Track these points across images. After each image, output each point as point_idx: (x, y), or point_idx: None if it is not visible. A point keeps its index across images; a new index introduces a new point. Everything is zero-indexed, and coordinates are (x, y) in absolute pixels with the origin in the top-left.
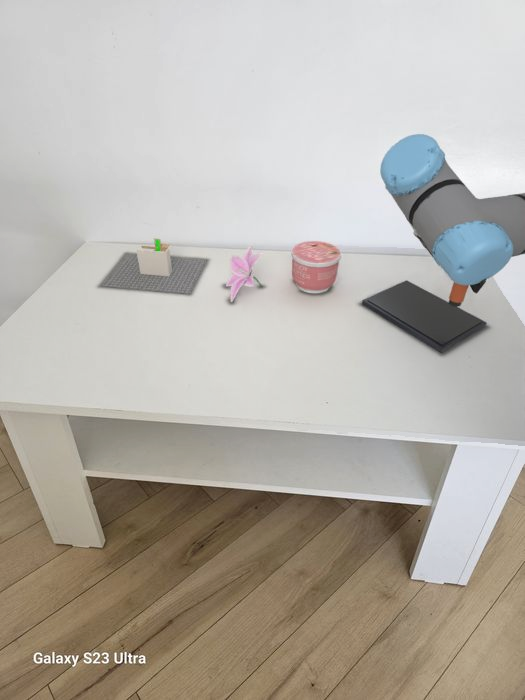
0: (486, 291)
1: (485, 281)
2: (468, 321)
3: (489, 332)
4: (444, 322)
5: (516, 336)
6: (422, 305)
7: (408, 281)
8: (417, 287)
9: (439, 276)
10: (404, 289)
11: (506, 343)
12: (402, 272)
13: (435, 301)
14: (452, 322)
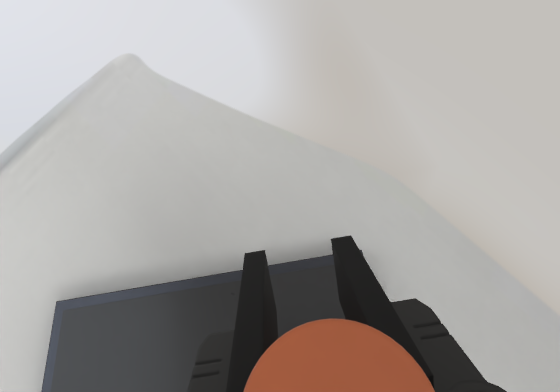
0: (233, 132)
1: (353, 241)
2: (337, 302)
3: (386, 265)
4: None
5: (428, 212)
6: (189, 378)
7: (65, 301)
8: (108, 305)
9: (112, 183)
10: (84, 360)
11: (449, 262)
12: (21, 263)
13: (199, 313)
14: None
